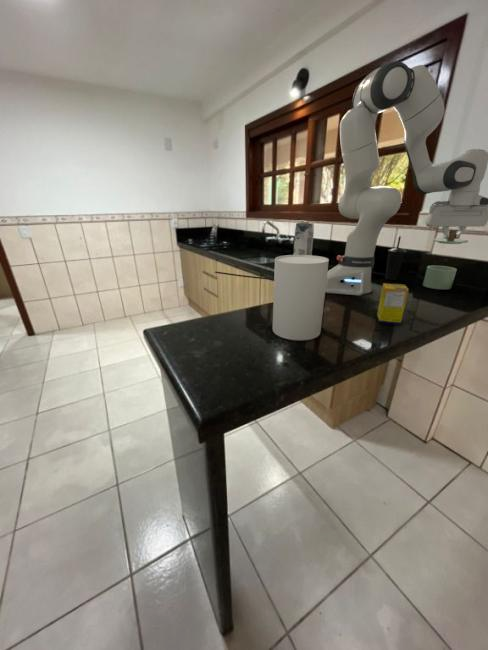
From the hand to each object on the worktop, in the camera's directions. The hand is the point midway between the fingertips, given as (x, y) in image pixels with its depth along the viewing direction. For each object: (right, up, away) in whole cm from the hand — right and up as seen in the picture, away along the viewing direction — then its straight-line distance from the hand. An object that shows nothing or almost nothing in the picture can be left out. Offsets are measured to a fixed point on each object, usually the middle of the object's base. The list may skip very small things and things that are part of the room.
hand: (450, 238), depth 105 cm
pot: (+1, -18, +9) cm, 20 cm away
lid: (0, -1, 0) cm, 1 cm away
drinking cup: (-11, -12, +24) cm, 29 cm away
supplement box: (-39, -33, -24) cm, 57 cm away
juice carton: (-51, -5, +41) cm, 66 cm away
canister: (-68, -36, -30) cm, 83 cm away
